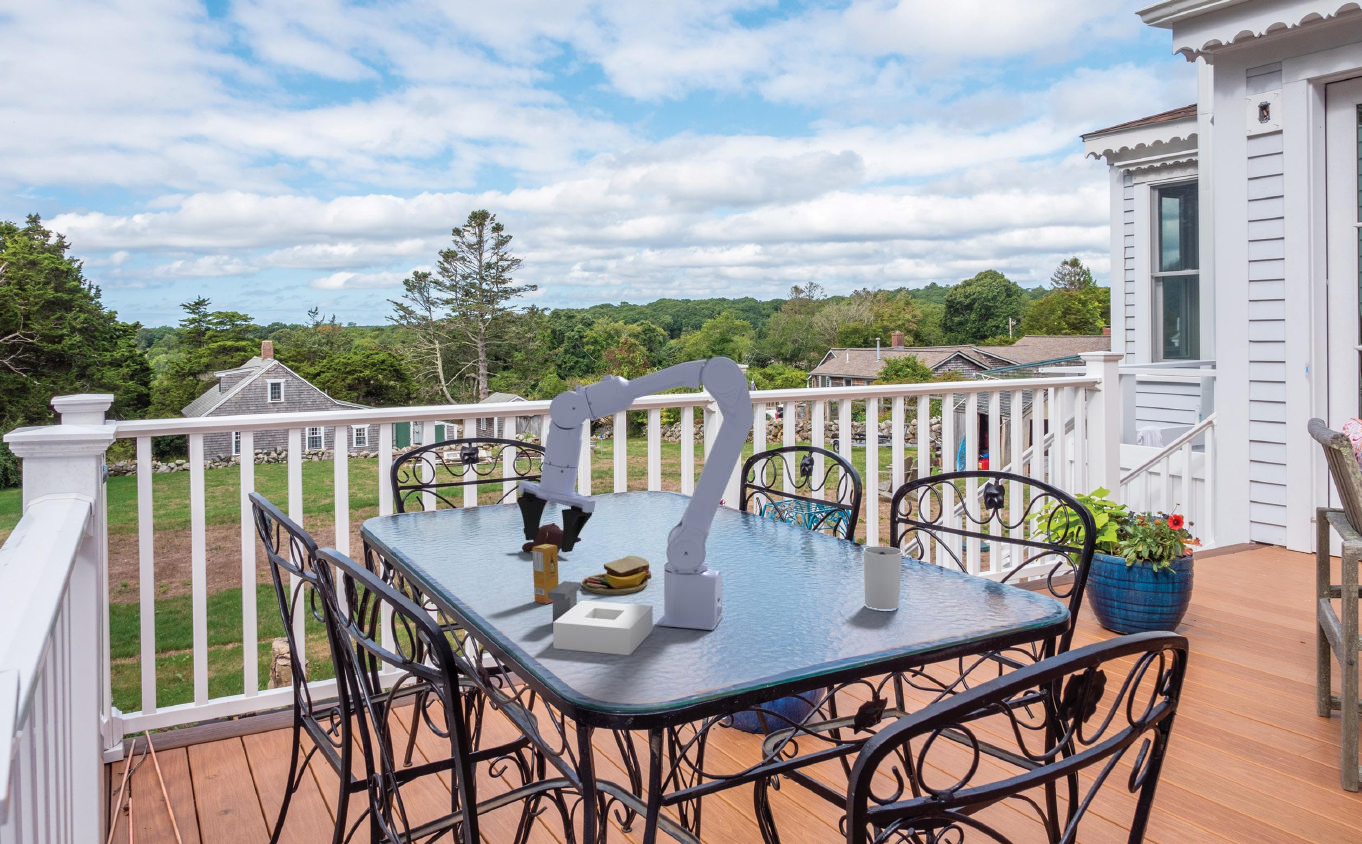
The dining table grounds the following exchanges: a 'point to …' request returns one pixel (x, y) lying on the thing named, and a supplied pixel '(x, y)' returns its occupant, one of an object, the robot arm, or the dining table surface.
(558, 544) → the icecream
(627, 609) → the well block
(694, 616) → the robot arm
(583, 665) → the dining table surface
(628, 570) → the toy sandwich meal
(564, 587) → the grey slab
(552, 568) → the supplement box
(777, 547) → the dining table surface
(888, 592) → the drinking glass
